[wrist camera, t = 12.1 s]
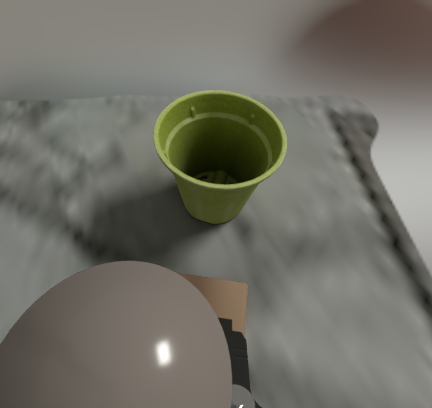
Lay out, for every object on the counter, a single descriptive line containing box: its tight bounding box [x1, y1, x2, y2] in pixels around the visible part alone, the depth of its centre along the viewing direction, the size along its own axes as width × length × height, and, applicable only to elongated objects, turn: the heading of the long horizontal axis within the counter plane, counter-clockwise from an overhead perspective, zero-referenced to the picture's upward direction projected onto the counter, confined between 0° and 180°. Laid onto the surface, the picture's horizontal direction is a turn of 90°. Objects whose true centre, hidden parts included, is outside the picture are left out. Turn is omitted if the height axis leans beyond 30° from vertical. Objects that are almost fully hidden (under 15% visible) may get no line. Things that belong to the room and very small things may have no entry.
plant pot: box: [153, 90, 287, 224], centre depth 22 cm, size 9×9×9 cm
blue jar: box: [0, 261, 232, 408], centre depth 11 cm, size 6×6×12 cm
